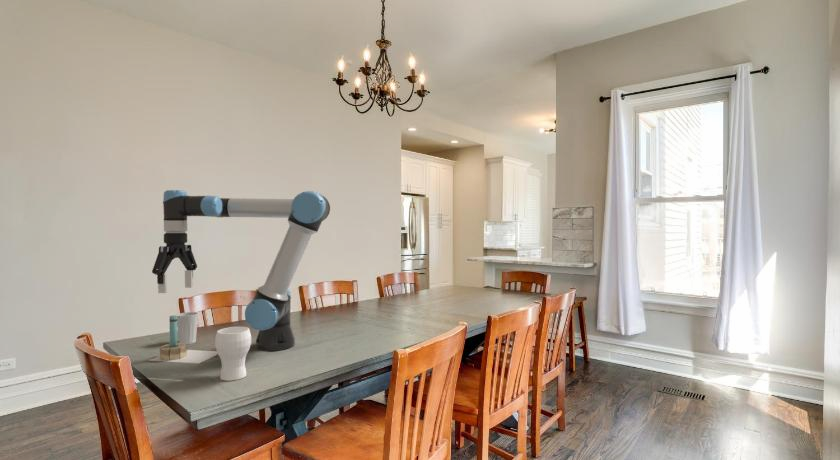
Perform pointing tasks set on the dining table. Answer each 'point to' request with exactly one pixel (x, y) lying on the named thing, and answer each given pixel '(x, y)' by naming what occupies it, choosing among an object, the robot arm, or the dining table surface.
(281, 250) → the robot arm
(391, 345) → the dining table surface
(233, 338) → the cup
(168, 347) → the bead
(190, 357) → the mat
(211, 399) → the dining table surface
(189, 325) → the cup
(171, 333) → the teal marker pen
